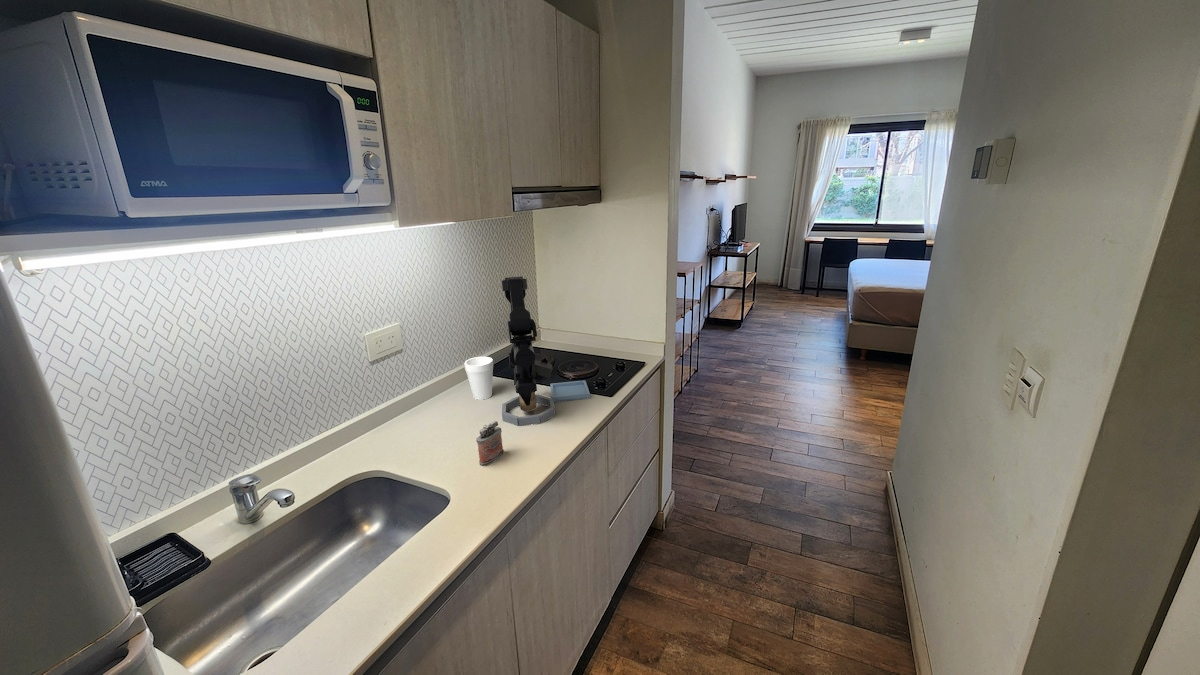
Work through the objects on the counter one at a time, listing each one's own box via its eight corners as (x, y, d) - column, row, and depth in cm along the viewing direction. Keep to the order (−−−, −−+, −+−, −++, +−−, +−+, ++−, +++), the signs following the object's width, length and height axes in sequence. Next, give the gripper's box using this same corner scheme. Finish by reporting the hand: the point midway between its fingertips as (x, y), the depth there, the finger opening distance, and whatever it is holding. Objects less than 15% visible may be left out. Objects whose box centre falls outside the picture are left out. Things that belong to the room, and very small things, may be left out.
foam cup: (499, 390, 174) (496, 356, 170) (492, 402, 165) (487, 366, 161) (474, 390, 175) (469, 356, 171) (464, 401, 166) (460, 366, 162)
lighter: (485, 467, 127) (481, 433, 124) (476, 464, 129) (472, 430, 126) (506, 453, 133) (503, 420, 130) (497, 449, 135) (494, 417, 132)
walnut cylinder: (520, 405, 157) (518, 385, 155) (535, 403, 158) (534, 383, 156) (520, 411, 153) (518, 391, 151) (536, 410, 153) (534, 389, 151)
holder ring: (503, 404, 163) (502, 397, 162) (552, 399, 165) (552, 392, 164) (502, 427, 147) (501, 420, 146) (556, 421, 150) (555, 414, 149)
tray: (550, 388, 174) (550, 383, 173) (585, 384, 176) (585, 380, 175) (552, 402, 163) (552, 397, 163) (590, 398, 165) (589, 393, 164)
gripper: (551, 364, 142) (555, 412, 147) (547, 344, 160) (551, 387, 165) (513, 367, 141) (518, 416, 146) (513, 347, 158) (517, 391, 163)
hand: (527, 401), depth 155 cm, fingers closed on walnut cylinder, 5 cm apart
